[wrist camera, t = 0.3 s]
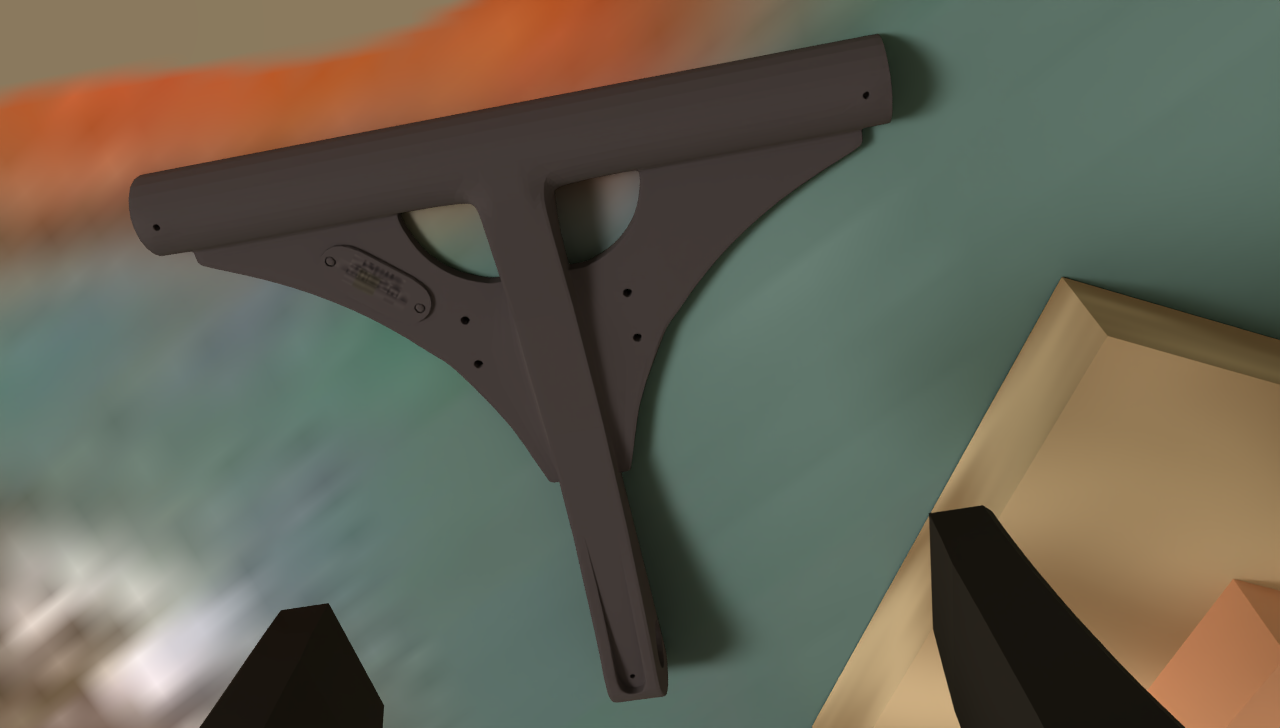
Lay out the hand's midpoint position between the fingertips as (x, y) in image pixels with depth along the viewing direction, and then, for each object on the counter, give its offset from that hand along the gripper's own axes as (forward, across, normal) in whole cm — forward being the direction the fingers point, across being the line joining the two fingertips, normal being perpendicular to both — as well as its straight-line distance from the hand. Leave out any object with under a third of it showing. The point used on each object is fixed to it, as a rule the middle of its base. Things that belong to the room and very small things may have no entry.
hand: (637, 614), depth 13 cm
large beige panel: (+9, -10, +12) cm, 18 cm away
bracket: (+11, +2, +5) cm, 12 cm away
